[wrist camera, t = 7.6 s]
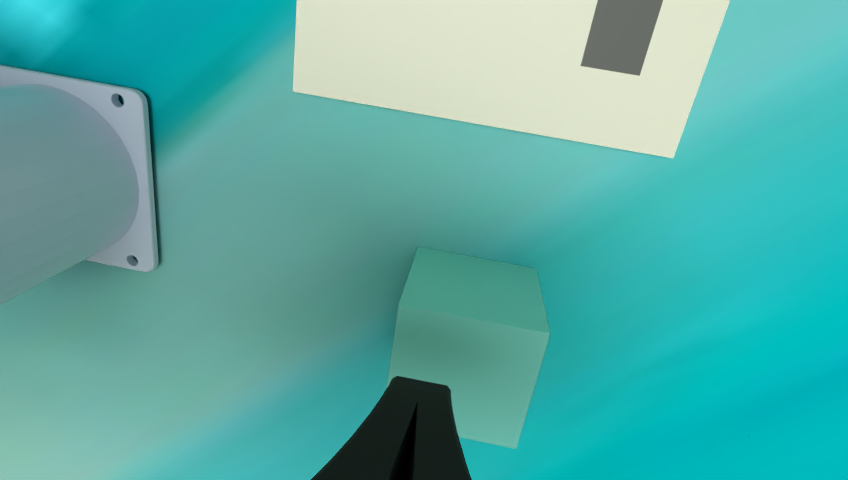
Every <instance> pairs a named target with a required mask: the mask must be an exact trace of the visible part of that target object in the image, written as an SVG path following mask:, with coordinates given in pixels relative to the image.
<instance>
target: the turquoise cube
mask: <svg viewBox="0 0 848 480" xmlns="http://www.w3.org/2000/svg"><path fill="white" fill-rule="evenodd" d="M549 337H550V330H549V325H548V321H547V316H546V311H545V307H544V302H543V297H542V293H541V288H540V283H539V279H538V274H537V270H536V268H531V267H525V266H520V265H514V264H509V263H504V262H498V261H493V260H488V259H482V258H477V257H471V256H466V255H461V254H455V253H450V252H444V251H439V250H434V249H428V248H423V247H418V249H417V252H416V255H415V258H414V261H413V264H412V267H411V270H410V273H409V275H408V278H407V281H406V284H405V287H404V290H403V293H402V296H401V299H400V302H399V305H398V312H397V319H396V326H395V332H394V339H393V346H392V353H391V359H390V366H389V373H388V380H387V387H388V386H389V384H390V382H391V380H392V378H394V377H396V376H401V377H406V378H411V379H416V380H422V381H427V382H432V383H437V384H442V385H447V386H448V387H449V388H450V390H451V401H452V408H453V414H454V419H455V424H456V429H457V433H458V437H461V438H466V439H471V440H476V441H480V442H485V443H490V444H495V445H500V446H505V447H509V448H514V449H516V448H517V444H518V441H519V438H520V434H521V431H522V427H523V424H524V421H525V417H526V414H527V411H528V407H529V404H530V401H531V397H532V394H533V390H534V387H535V384H536V380H537V377H538V374H539V370H540V367H541V364H542V360H543V357H544V354H545V350H546V347H547V343H548V340H549ZM387 387H386V389H387Z"/></svg>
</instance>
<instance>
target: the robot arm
mask: <svg viewBox="0 0 848 480" xmlns="http://www.w3.org/2000/svg"><path fill="white" fill-rule="evenodd" d="M119 95H121V96H122V97H123V100H124V105H122V104H121V103H120V102H119V99H118V97H119ZM133 256H135V257H136V258H137V260H138V262H137V261H135V260H134V258H133ZM83 260H86V261H91V262H96V263H101V264H106V265H111V266H116V267H121V268H126V269H131V270H137V271H142V272H150V271H152V270H153V269H155V268H156V267H157V266H158V247H157V232H156V217H155V203H154V188H153V173H152V159H151V144H150V129H149V115H148V103H147V99H146V97H145V96H144V94H143V93H142V92H141V91H139V90H137V89H134V88H128V87H122V86H117V85H111V84H106V83H100V82H94V81H89V80H83V79H77V78H72V77H66V76H61V75H55V74H49V73H44V72H38V71H33V70H27V69H21V68H16V67H10V66H5V65H0V305H1V304H3V303H5V302H7V301H9V300H11V299H13V298H14V297H16V296H18V295H20V294H22V293H24V292H26V291H27V290H29V289H31V288H33V287H35V286H37V285H39V284H40V283H42V282H44V281H46V280H48V279H50V278H52V277H53V276H55V275H57V274H59V273H61V272H63V271H65V270H67V269H68V268H70V267H72V266H74V265H76V264H78V263H80V262H81V261H83ZM311 480H472V479H471V477H470V474H469V471H468V468H467V465H466V461H465V458H464V455H463V451H462V448H461V444H460V441H459V437H458V433H457V429H456V424H455V419H454V414H453V408H452V401H451V390H450V388H449V387H448V386H447V385H442V384H437V383H432V382H427V381H422V380H416V379H411V378H406V377H401V376H396V377H394V378H392V380H391V382H390V384H389V386H388V387H387V389H386V391H385V392H384V394H383V396H382V397H381V399H380V400H379V402H378V403H377V404H376V406H375V407H374V409H373V410H372V411H371V413H370V414H369V415H368V417H367V418H366V419H365V420H364V422H363V423H362V424H361V425H360V427H359V428H358V429H357V431H356V432H355V433H354V434H353V435H352V437H351V438H350V439H349V440H348V441H347V442H346V443H345V444H344V446H343V447H342V448H341V449H340V450H339V451H338V452H337V453H336V454H335V456H334V457H333V458H332V459H331V460H330V461H329V462H328V463H327V464H326V465H325V466H324V467H323V468H322V469H321V470H320V471H319V472H318V473H317V474H316V475H315V476H314V477H313V478H312V479H311Z"/></svg>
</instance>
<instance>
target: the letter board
mask: <svg viewBox="0 0 848 480" xmlns="http://www.w3.org/2000/svg"><path fill="white" fill-rule="evenodd" d="M729 2H730V0H297V10H296V32H295V54H294V76H293V92H299V93H304V94H310V95H316V96H321V97H327V98H333V99H338V100H344V101H350V102H355V103H361V104H367V105H373V106H378V107H384V108H390V109H395V110H401V111H407V112H412V113H418V114H424V115H429V116H435V117H441V118H446V119H452V120H458V121H464V122H469V123H475V124H481V125H486V126H492V127H498V128H503V129H509V130H515V131H520V132H526V133H532V134H538V135H543V136H549V137H555V138H560V139H566V140H572V141H577V142H583V143H589V144H594V145H600V146H606V147H611V148H617V149H623V150H629V151H634V152H640V153H646V154H651V155H657V156H663V157H668V158H674V155H675V152H676V149H677V146H678V144H679V141H680V138H681V135H682V133H683V130H684V127H685V124H686V122H687V119H688V116H689V113H690V110H691V108H692V105H693V102H694V99H695V97H696V94H697V91H698V88H699V85H700V83H701V80H702V77H703V74H704V72H705V69H706V66H707V63H708V60H709V58H710V55H711V52H712V49H713V47H714V44H715V41H716V38H717V35H718V33H719V30H720V27H721V24H722V22H723V19H724V16H725V13H726V10H727V8H728V5H729Z"/></svg>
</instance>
